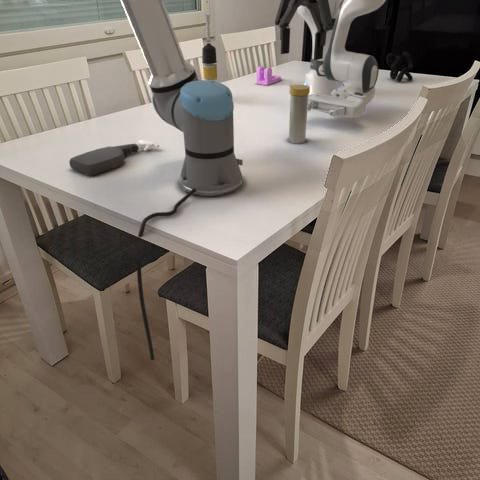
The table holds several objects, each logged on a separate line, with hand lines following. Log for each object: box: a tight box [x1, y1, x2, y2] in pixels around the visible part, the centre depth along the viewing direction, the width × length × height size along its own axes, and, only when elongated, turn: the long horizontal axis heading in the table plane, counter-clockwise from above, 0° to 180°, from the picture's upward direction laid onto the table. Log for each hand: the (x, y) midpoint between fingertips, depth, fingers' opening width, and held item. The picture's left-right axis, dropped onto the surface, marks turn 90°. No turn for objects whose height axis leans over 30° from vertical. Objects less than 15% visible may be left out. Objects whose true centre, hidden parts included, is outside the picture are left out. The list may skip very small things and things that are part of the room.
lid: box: [289, 84, 310, 96], centre depth 128 cm, size 6×6×2 cm
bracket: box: [256, 66, 282, 86], centre depth 200 cm, size 13×6×7 cm, turn 143°
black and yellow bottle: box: [201, 14, 218, 82], centre depth 171 cm, size 6×6×30 cm
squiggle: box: [385, 51, 414, 83], centre depth 198 cm, size 11×10×15 cm
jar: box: [288, 94, 308, 144], centre depth 132 cm, size 5×5×16 cm
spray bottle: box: [68, 139, 160, 177], centre depth 124 cm, size 3×11×24 cm
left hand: (300, 56), depth 123 cm, fingers open, 12 cm apart
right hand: (318, 110), depth 139 cm, fingers open, 8 cm apart
